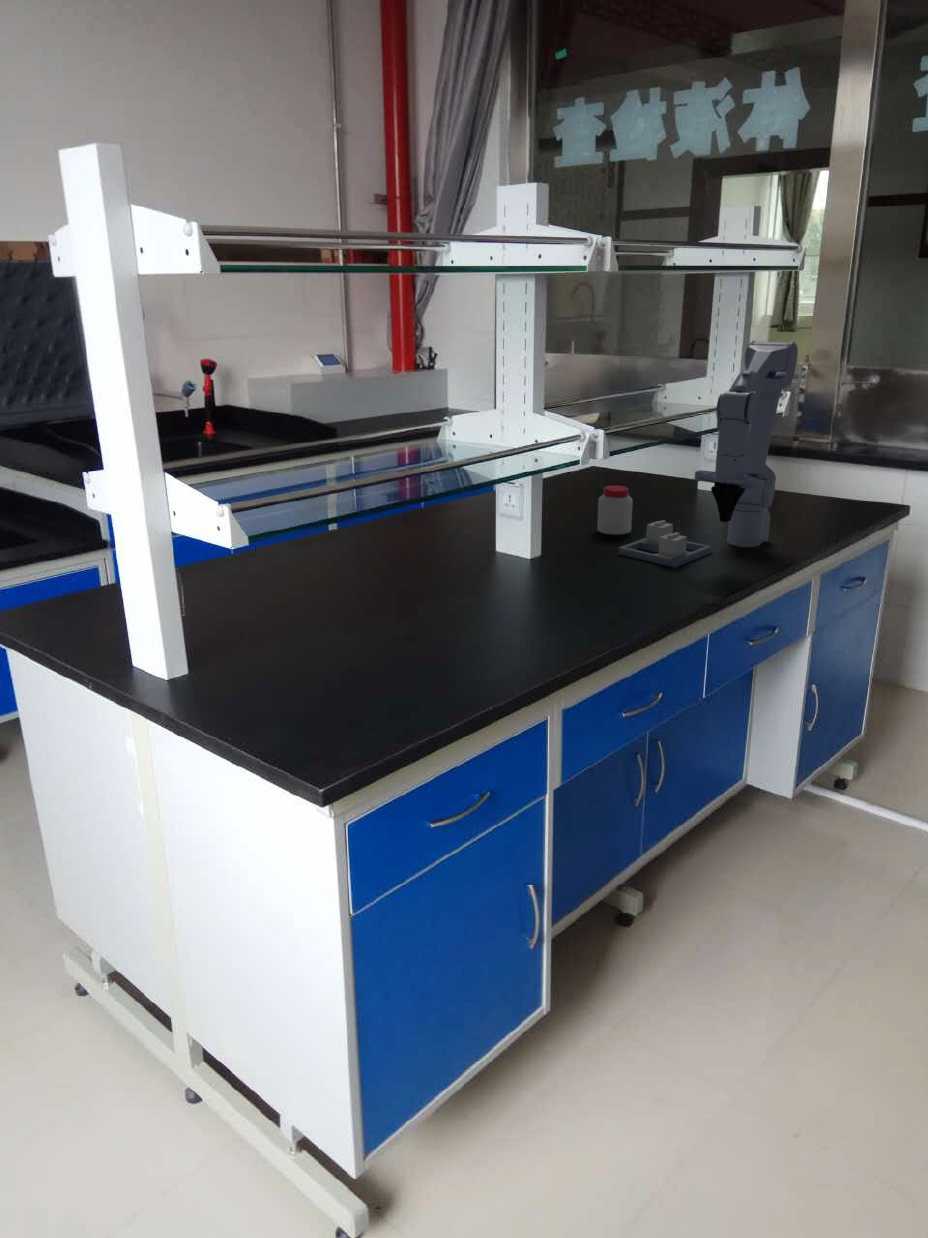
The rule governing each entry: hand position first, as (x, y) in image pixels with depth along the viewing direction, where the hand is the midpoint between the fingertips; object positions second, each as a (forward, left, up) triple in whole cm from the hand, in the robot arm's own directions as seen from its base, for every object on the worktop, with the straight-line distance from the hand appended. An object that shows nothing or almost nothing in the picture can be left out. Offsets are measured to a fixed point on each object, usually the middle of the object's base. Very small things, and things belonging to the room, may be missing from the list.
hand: (725, 520), depth 188 cm
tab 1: (+6, -8, -9) cm, 13 cm away
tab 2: (-1, -16, -9) cm, 18 cm away
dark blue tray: (+2, -14, -10) cm, 17 cm away
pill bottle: (-5, -31, -10) cm, 33 cm away
